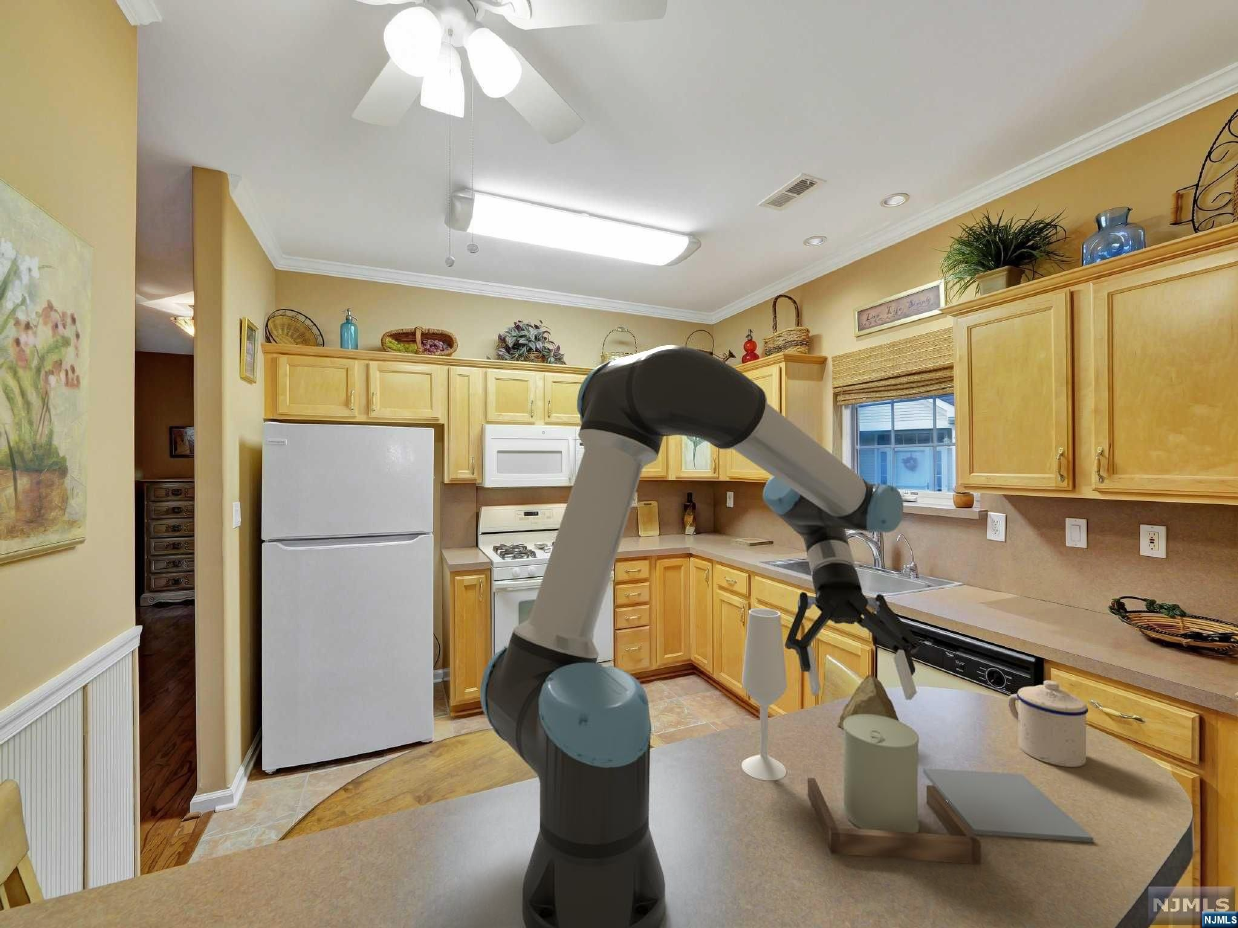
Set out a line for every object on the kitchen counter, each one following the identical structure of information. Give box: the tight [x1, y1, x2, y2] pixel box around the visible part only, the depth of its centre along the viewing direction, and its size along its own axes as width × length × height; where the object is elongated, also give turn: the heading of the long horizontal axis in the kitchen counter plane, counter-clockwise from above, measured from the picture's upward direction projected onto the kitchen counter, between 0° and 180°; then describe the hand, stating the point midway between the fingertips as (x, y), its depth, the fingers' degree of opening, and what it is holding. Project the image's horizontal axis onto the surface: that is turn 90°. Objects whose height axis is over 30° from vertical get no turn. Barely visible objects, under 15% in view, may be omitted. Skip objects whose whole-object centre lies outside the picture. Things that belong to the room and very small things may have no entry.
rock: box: [836, 674, 900, 730], centre depth 93 cm, size 11×9×10 cm
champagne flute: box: [741, 607, 788, 782], centre depth 84 cm, size 7×7×24 cm
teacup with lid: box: [1007, 679, 1089, 768], centre depth 90 cm, size 12×9×12 cm
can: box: [841, 714, 920, 833], centre depth 72 cm, size 9×9×12 cm
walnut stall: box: [807, 777, 982, 865], centre depth 70 cm, size 17×12×2 cm
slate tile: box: [922, 767, 1094, 843], centre depth 75 cm, size 14×14×1 cm
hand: (863, 694), depth 81 cm, fingers open, 13 cm apart
